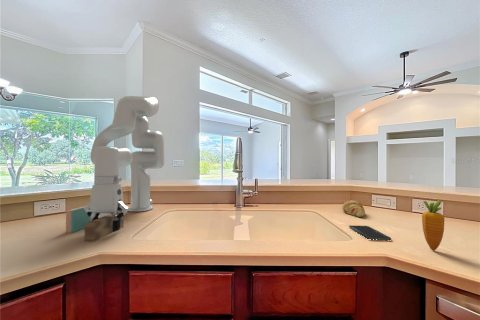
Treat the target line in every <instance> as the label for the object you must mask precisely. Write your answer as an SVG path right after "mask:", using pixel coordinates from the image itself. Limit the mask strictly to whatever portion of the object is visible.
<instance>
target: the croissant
mask: <svg viewBox="0 0 480 320" xmlns="http://www.w3.org/2000/svg"><path fill="white" fill-rule="evenodd" d="M341 208H342V209H341V210H342V211H343V212H344V213H345V214H348V215H351V216H354V217H359V218H361V217H365V214H366V210H365V208H364V206H363V204H362V203H360V202H359V201H357V200H354V199H350V200H347V201H345V202H344V203H343V204H342V206H341Z"/></svg>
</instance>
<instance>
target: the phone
mask: <svg viewBox="0 0 480 320" xmlns="http://www.w3.org/2000/svg"><path fill="white" fill-rule="evenodd" d="M348 228H349V229H350V230H351V231H353V232H355V233H356V232H357V233H356V234H358V235H359V234H360V236H361V235H362V236H364V237H365V238H364V237H363V238H364V239H366V238H367V239H371V240H373V239H374V240H376V239H377V240H391V241H392V238H391V236H388V235H387V234H385V233H383V232H381V231H379V230H377V229H375V228H373V227H371V226H369V225H348ZM362 236H361V237H362ZM367 239H366V240H367Z"/></svg>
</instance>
